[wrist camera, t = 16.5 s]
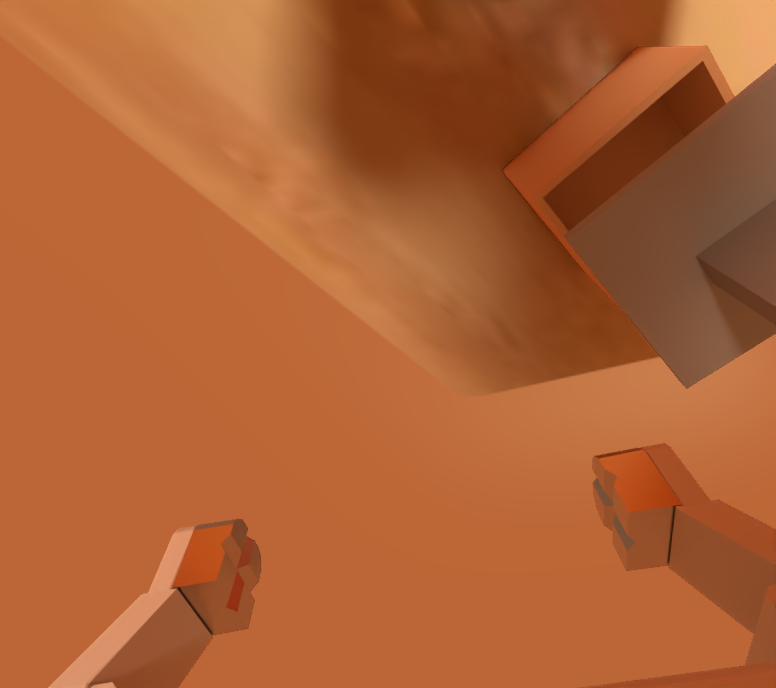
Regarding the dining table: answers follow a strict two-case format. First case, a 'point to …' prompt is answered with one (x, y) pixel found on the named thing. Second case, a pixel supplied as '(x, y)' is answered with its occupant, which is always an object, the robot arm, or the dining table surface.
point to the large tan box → (617, 134)
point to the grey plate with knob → (697, 239)
